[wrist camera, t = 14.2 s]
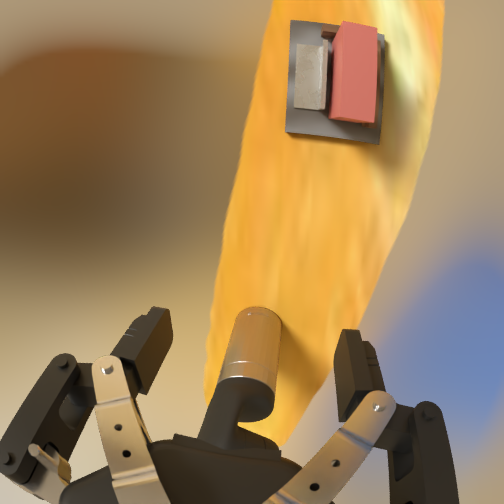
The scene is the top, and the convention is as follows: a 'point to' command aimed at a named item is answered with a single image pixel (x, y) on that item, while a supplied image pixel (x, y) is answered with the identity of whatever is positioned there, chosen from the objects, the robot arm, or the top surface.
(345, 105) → the book
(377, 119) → the book rack
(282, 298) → the top surface
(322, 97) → the bookend
